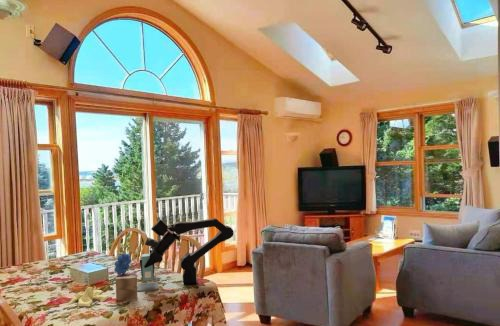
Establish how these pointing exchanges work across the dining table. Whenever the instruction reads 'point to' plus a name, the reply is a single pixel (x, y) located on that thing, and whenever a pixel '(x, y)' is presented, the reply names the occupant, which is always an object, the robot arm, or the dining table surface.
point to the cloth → (88, 297)
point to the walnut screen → (126, 288)
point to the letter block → (146, 271)
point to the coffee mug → (141, 266)
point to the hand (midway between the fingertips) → (144, 266)
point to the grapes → (122, 263)
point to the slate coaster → (147, 287)
